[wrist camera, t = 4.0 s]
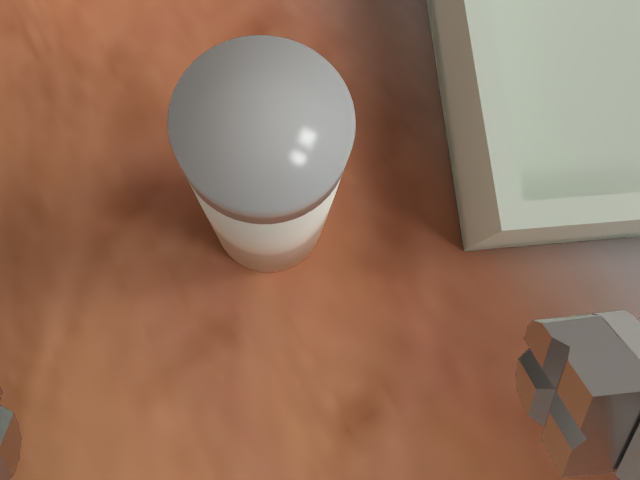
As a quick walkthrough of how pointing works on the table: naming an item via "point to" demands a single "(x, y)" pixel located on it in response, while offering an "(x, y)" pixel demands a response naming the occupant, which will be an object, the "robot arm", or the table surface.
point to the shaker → (263, 145)
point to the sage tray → (541, 118)
